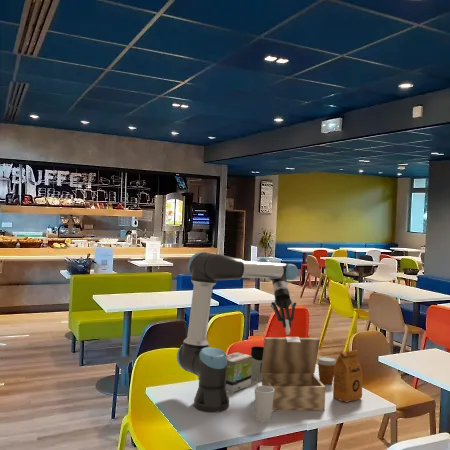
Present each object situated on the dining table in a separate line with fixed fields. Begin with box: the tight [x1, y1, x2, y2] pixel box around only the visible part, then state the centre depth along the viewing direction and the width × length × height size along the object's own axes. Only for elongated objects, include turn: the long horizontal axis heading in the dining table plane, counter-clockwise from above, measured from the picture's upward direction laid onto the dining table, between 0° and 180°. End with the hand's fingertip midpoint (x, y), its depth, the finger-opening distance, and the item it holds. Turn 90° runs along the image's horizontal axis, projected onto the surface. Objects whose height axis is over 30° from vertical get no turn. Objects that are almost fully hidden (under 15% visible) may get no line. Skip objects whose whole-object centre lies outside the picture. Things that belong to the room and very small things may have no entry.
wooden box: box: [261, 373, 326, 412], centre depth 208 cm, size 24×18×10 cm
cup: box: [254, 385, 274, 423], centre depth 190 cm, size 8×8×12 cm
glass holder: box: [250, 345, 264, 381], centre depth 238 cm, size 9×14×15 cm, turn 44°
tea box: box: [226, 351, 252, 394], centre depth 225 cm, size 15×10×15 cm, turn 143°
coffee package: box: [332, 349, 364, 403], centre depth 215 cm, size 10×12×22 cm
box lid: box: [261, 336, 321, 374], centre depth 213 cm, size 25×19×4 cm
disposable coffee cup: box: [316, 355, 337, 385], centre depth 237 cm, size 10×10×12 cm
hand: (288, 332), depth 222 cm, fingers closed
